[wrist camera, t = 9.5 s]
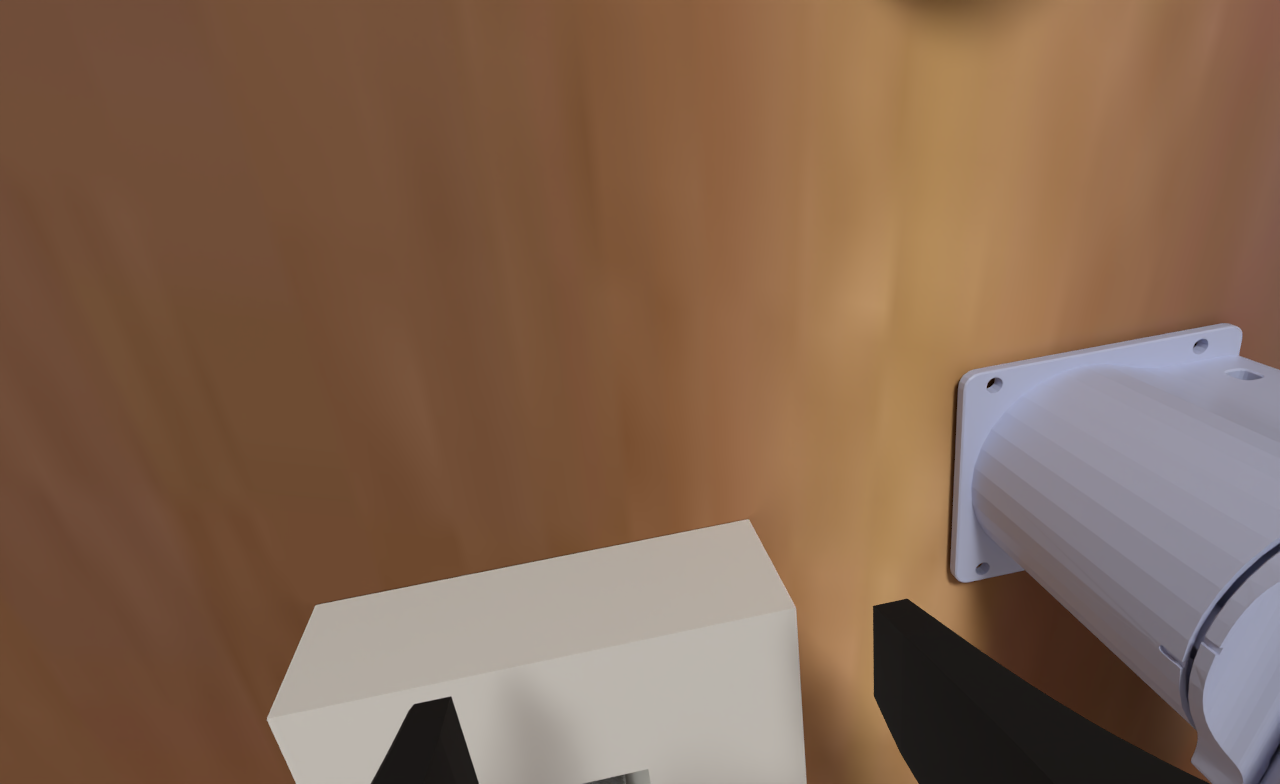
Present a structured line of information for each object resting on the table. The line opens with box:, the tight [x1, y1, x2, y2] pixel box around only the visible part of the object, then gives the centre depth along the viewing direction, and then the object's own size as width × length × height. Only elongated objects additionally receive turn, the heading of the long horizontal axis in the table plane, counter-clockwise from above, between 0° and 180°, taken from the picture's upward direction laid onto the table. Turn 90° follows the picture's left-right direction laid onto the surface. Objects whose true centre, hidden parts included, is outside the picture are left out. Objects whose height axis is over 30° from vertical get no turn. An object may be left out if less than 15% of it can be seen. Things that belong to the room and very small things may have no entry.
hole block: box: [267, 519, 807, 784], centre depth 23 cm, size 14×14×4 cm
